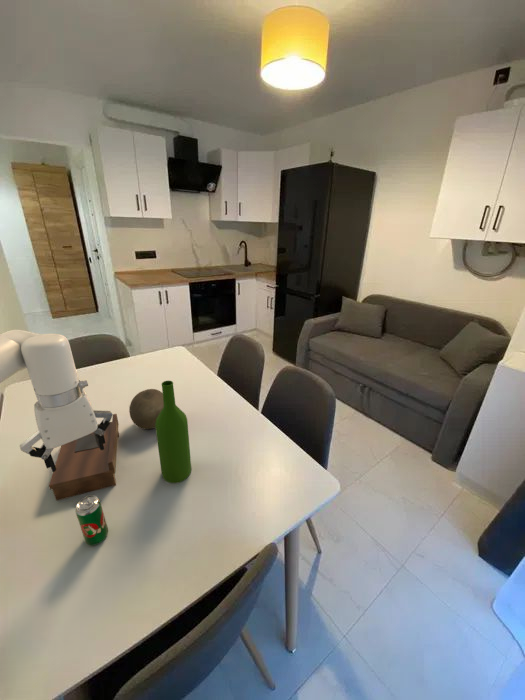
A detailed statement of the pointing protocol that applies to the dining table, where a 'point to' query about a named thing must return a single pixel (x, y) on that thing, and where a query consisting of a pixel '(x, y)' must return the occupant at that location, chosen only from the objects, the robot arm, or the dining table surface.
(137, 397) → the cantaloupe
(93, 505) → the soda can
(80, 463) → the brown wooden box
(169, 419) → the wine bottle
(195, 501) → the dining table surface
